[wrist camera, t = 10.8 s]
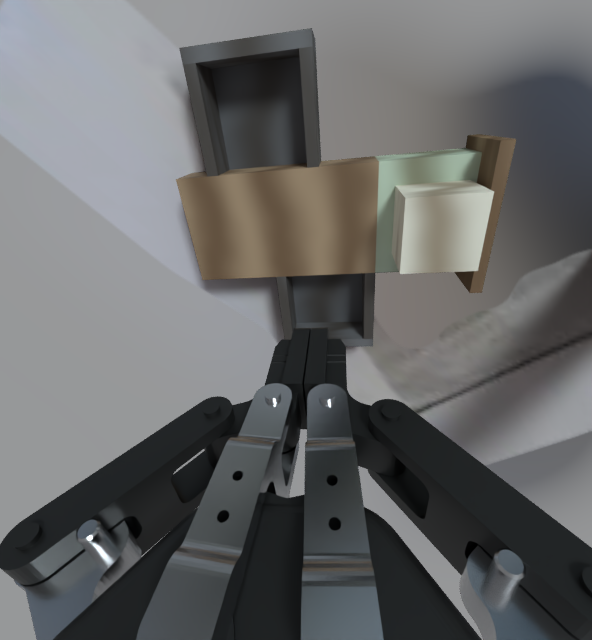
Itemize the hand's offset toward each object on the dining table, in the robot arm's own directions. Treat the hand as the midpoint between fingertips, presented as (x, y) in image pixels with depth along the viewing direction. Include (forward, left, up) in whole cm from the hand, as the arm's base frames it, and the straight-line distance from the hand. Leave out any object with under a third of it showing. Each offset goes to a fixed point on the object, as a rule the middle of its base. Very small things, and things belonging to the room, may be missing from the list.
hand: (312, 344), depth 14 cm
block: (-9, 0, -19) cm, 21 cm away
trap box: (0, 0, -23) cm, 23 cm away
